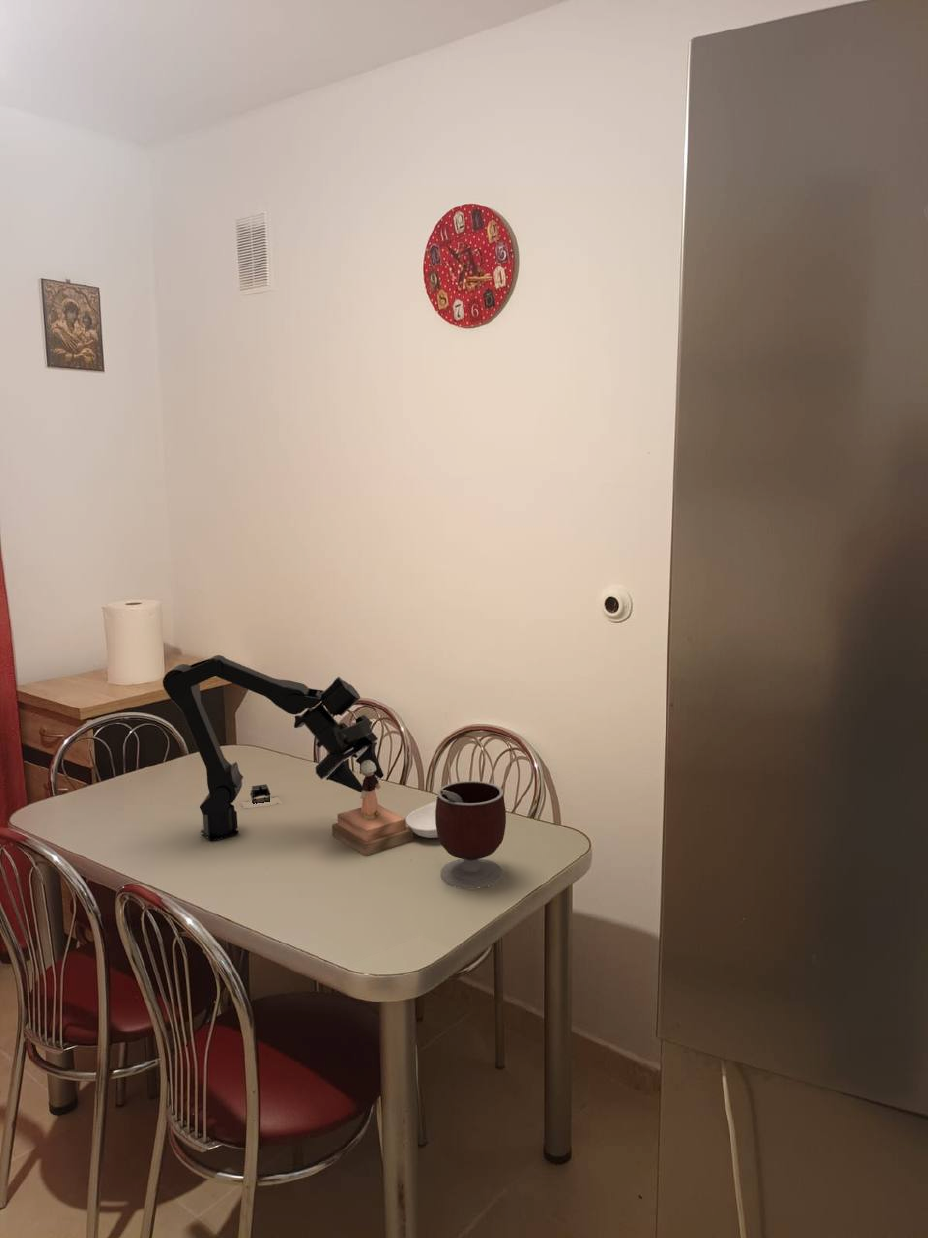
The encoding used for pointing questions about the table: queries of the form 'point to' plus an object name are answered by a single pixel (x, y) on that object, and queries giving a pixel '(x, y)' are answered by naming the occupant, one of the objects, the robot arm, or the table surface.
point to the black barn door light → (260, 794)
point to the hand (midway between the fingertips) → (372, 783)
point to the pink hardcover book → (371, 830)
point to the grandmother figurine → (369, 790)
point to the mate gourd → (470, 831)
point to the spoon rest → (423, 821)
